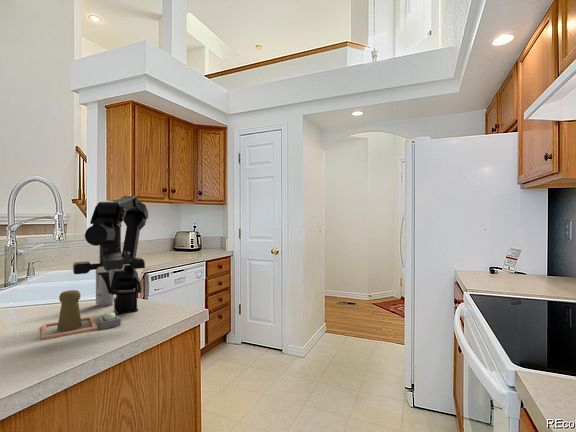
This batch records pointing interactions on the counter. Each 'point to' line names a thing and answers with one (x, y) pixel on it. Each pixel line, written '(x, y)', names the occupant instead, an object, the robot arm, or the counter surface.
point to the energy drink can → (103, 292)
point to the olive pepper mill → (69, 311)
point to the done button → (109, 316)
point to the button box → (109, 322)
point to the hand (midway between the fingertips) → (110, 293)
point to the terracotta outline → (44, 336)
